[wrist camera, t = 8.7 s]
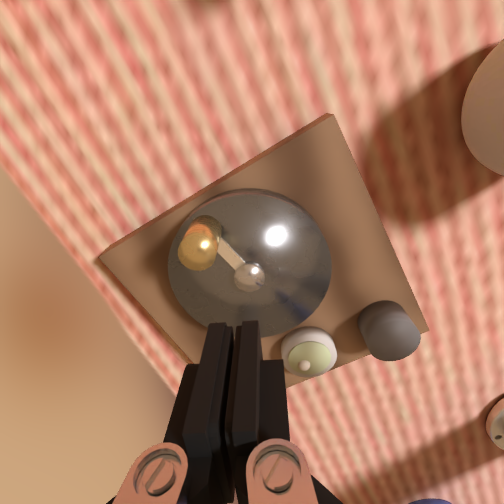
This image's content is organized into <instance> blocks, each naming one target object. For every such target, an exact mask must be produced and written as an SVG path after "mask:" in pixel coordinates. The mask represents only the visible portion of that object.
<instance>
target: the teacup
mask: <svg viewBox="0 0 504 504" xmlns="http://www.w3.org/2000/svg"><path fill="white" fill-rule="evenodd" d="M461 126H462V132H463V136H464V139H465V142H466V145H467V147H468V148H469V150H470V152H471V153H472V155H473V156H474V157H475V158H476V159H477V160H478V161H479V162H480V163H481V164H482V165H483V166H485V167H486V168H488V169H490V170H492V171H493V172H495V173H497V174H500V175H502V176H504V39H503V40H502V41H501V42H500V43H499V44H498V45H497V46H496V47H495V48H494V49H493V50H492V51H491V52H490V53H489V54H488V55H487V57H486V58H485V59H484V60H483V62H482V63H481V65H480V66H479V67H478V69H477V71H476V72H475V74H474V76H473V78H472V80H471V82H470V84H469V86H468V88H467V91H466V94H465V97H464V101H463V106H462V114H461Z"/></svg>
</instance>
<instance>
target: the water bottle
mask: <svg viewBox="0 0 504 504" xmlns="http://www.w3.org/2000/svg"><path fill="white" fill-rule="evenodd" d="M409 504H451V503H450V502H447V501H445V500H441V499H422V500H418V501H414V502H411V503H409Z"/></svg>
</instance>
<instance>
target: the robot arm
mask: <svg viewBox="0 0 504 504" xmlns="http://www.w3.org/2000/svg"><path fill="white" fill-rule="evenodd" d="M486 431H487V434H488V435H489V437H490V438H491V440H492V441H493V443H494V444H495V445H496V446H497V447H499V448H501V449H502V450H504V398H502V399H501V400H500V401H499V402H498V403H497V404H496V405H495V406H494V407H493V408H492V410H491V411H490V413H489V415H488V417H487V420H486ZM235 489H236V494H237V499H238V504H343V503H342V502H341V501H340V500H339V499H337V498H336V497H335V496H334V495H333V494H332V493H331V492H330V491H329V490H327V489H326V488H325V487H324V486H323V485H322V484H321V483H320V482H319V481H318V480H316V479H315V478H314V477H313V476H312V475H311V474H310V471H309V468H308V464H307V461H306V459H305V457H304V454H303V453H302V451H301V450H300V449H299V448H298V447H297V446H296V445H294V444H293V443H291V442H290V434H289V422H288V410H287V397H286V385H285V373H284V361H283V359H275V360H263V354H262V345H261V336H260V327H259V321H258V320H252V321H243V322H242V325H241V326H236V333H235V339H234V333H233V327H232V326H227V324H226V322H220V323H210V324H209V326H208V330H207V334H206V338H205V342H204V346H203V350H202V355H201V359H200V363H199V364H188V365H187V366H186V368H185V370H184V373H183V377H182V380H181V384H180V387H179V390H178V394H177V397H176V401H175V404H174V407H173V411H172V414H171V417H170V421H169V424H168V427H167V431H166V434H165V438H164V441H163V443H160V444H157V445H154V446H152V447H150V448H148V449H147V450H145V451H144V452H143V453H142V454H141V455H140V456H139V457H138V458H137V459H136V460H135V462H134V463H133V465H132V466H131V468H130V470H129V472H128V474H127V476H126V478H125V480H124V482H123V484H122V486H121V488H120V490H119V491H118V493H117V495H116V496H115V497H114V498H112V499H111V500H110V501H109V502H108V503H106V504H227V503H233V501H234V493H235Z"/></svg>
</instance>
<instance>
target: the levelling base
mask: <svg viewBox="0 0 504 504" xmlns="http://www.w3.org/2000/svg"><path fill="white" fill-rule="evenodd" d="M242 188H258V189H265V190H270V191H273V192H277V193H280V194H282V195H284V196H287V197H289V198H290V199H292V200H294V201H295V202H297V203H298V204H299V205H301V206H302V207H303V208H304V209H306V211H307V212H308V213H309V214H310V215H311V216H312V217H313V219H314V220H315V221H316V223H317V224H318V226H319V228H320V230H321V232H322V234H323V236H324V238H325V240H326V242H327V245H328V248H329V251H330V255H331V261H332V273H331V280H330V284H329V287H328V290H327V293H326V295H325V297H324V299H323V300H322V302H321V304H320V305H319V307H318V308H317V309H316V310H315V311H314V312H313V314H311V315H310V316H309V317H308V318H307V319H306V320H305V321H303V322H302V323H301V324H299V325H297V326H296V327H294V328H292V329H290V330H288V331H286V332H283V333H281V334H277V335H274V336H269V337H264V338H261V345H262V354H263V360H275V359H283V361H284V373H285V385H286V388H288V387H290V386H293V385H295V384H298V383H300V382H303V381H305V380H307V379H310V378H312V377H315V376H319V375H322V374H324V373H326V372H327V371H330V370H332V369H335V368H337V367H340V366H342V365H345V364H347V363H350V362H352V361H355V360H357V359H360V358H362V357H365V356H367V355H370V354H372V355H373V356H374V357H375V358H377V359H380V360H383V361H396V360H400V359H403V358H405V357H407V356H409V355H410V354H412V353H413V352H414V351H415V350H416V349H417V347H418V345H419V343H420V339H421V336H420V334H422V333H424V332H427V331H429V328H428V326H427V324H426V321H425V319H424V317H423V315H422V312H421V310H420V308H419V305H418V303H417V301H416V299H415V296H414V294H413V292H412V290H411V287H410V285H409V283H408V281H407V278H406V276H405V274H404V272H403V269H402V267H401V265H400V263H399V260H398V258H397V256H396V254H395V251H394V249H393V247H392V245H391V242H390V240H389V238H388V236H387V233H386V231H385V229H384V227H383V224H382V222H381V220H380V217H379V215H378V213H377V211H376V208H375V206H374V204H373V202H372V199H371V197H370V195H369V193H368V190H367V188H366V186H365V184H364V181H363V179H362V177H361V175H360V172H359V170H358V168H357V166H356V163H355V161H354V159H353V157H352V154H351V152H350V150H349V148H348V145H347V143H346V141H345V139H344V136H343V134H342V132H341V130H340V127H339V125H338V123H337V120H336V118H335V116H334V114H329V113H326V114H324V115H323V116H321V117H319V118H318V119H316V120H315V121H313V122H311V123H310V124H308V125H306V126H305V127H303V128H301V129H300V130H298V131H297V132H295V133H293V134H292V135H290V136H288V137H287V138H285V139H283V140H282V141H280V142H279V143H277V144H275V145H274V146H272V147H270V148H269V149H267V150H265V151H264V152H262V153H261V154H259V155H257V156H256V157H254V158H252V159H251V160H249V161H247V162H246V163H244V164H243V165H241V166H239V167H238V168H236V169H234V170H233V171H231V172H229V173H228V174H226V175H225V176H223V177H221V178H220V179H218V180H216V181H215V182H213V183H211V184H210V185H208V186H207V187H205V188H203V189H202V190H200V191H198V192H197V193H195V194H193V195H192V196H190V197H189V198H187V199H185V200H184V201H182V202H180V203H179V204H177V205H175V206H174V207H172V208H171V209H169V210H167V211H166V212H164V213H162V214H161V215H159V216H157V217H156V218H154V219H153V220H151V221H149V222H148V223H146V224H144V225H143V226H141V227H139V228H138V229H136V230H135V231H133V232H131V233H130V234H128V235H126V236H125V237H123V238H121V239H120V240H118V241H117V242H115V243H113V244H112V245H110V246H109V247H108V248H107V249H106V250H105V251H104V252H103V253H102V254H101V255H100V256H99V259H100V260H101V261H102V262H103V263H104V264H105V265H106V266H107V267H108V269H109V270H110V271H111V272H112V273H113V274H114V275H115V276H116V277H117V279H118V280H119V281H120V282H121V283H122V284H123V285H124V286H125V287H126V289H127V290H128V291H129V292H130V293H131V294H132V295H133V296H134V298H135V299H136V300H137V301H138V302H139V303H140V304H141V305H142V306H143V308H144V309H145V310H146V311H147V312H148V313H149V314H150V315H151V316H152V318H153V319H154V320H155V321H156V322H157V323H158V324H159V325H160V326H161V328H162V329H163V330H164V331H165V332H166V333H167V334H168V335H169V336H170V338H171V339H172V340H173V341H174V342H175V343H176V344H177V345H178V346H179V348H180V349H181V350H182V351H183V352H184V353H185V354H186V355H187V356H188V358H189V359H190V360H191V361H192V362H193V363H194V364H199V363H200V359H201V355H202V350H203V346H204V342H205V338H206V334H207V330H208V328H207V327H205V326H204V325H202V324H200V323H199V322H197V321H196V320H195V319H194V318H192V317H191V316H190V315H189V314H188V313H187V312H186V311H185V310H184V308H183V307H182V306H181V305H180V303H179V302H178V300H177V298H176V297H175V295H174V292H173V290H172V288H171V284H170V280H169V275H168V257H169V252H170V248H171V245H172V242H173V240H174V238H175V236H176V234H177V232H178V231H179V229H180V227H181V226H182V224H183V222H184V221H185V220H186V218H187V217H188V215H189V214H190V213H191V212H192V211H193V210H194V209H195V208H196V207H197V206H199V205H200V204H201V203H203V202H204V201H206V200H207V199H209V198H211V197H213V196H215V195H217V194H220V193H222V192H226V191H230V190H234V189H242ZM234 339H235V337H234Z"/></svg>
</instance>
